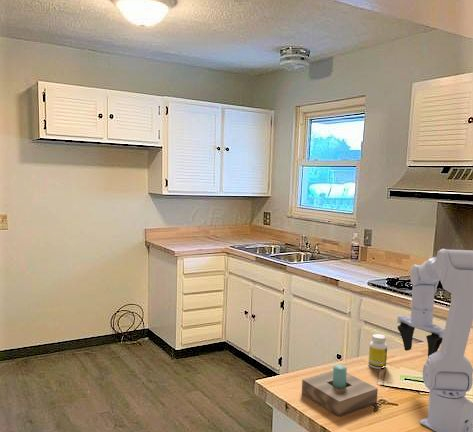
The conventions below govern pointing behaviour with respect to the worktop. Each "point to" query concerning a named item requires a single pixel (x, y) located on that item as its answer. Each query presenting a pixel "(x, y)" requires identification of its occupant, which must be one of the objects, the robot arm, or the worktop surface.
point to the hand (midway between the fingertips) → (419, 354)
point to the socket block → (339, 393)
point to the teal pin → (339, 376)
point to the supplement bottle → (377, 351)
